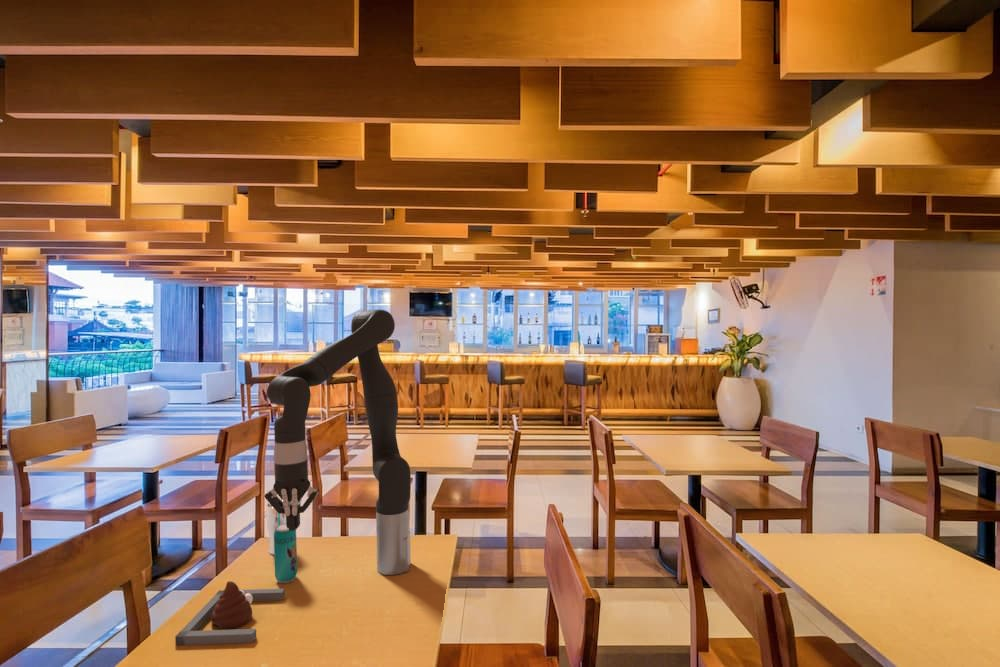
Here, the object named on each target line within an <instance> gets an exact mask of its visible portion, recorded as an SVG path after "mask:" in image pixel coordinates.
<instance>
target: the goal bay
mask: <svg viewBox="0 0 1000 667" xmlns="http://www.w3.org/2000/svg"><path fill="white" fill-rule="evenodd" d="M224 590H225V589H223V590H218V592H216V593H215V594H214V595H213V596H212V598H210V599H209V601H208V602H207V603H206V604H205V605H204V606H203V607H202V608H201V609H200V610H199V611H198V612H197V613H196V614H195V615H194V616H193V617H192V618H191V619H190V621H188V623H187V624H185V626H184V627H182V629H181V630H180V631H179V632H178V633H177V634H176V635H175V639H174V641H175V642H174V644H175V646H193V645H194V646H195V645H198V646H201V645H226V644H251V643H252V644H253V643H254V641H255V640H256V638H257V629H256V628H242V629H241V628H240V629H239V628H234V629H213V630H212V629H210V630H209V629H208V630H207V629H206V630H200V629H201V628H202V627H203V626H204V624H205V623H206V622H207V621H208V620H209V619H211V615H212V613H213V611H214V610H215V606H216V604H217V603H218V600H219V597H220V595H221V594H223V592H224ZM240 590H242V591H244V592H245V594H248V593H249V594H251V595H252V596H253V600H252V602H264V601H266V602H269V601H283V600H284V599H285V597H286V588H266V589H264V588H263V589H262V588H260V589H259V588H258V589H257V588H256V589H239V591H240Z"/></svg>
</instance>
